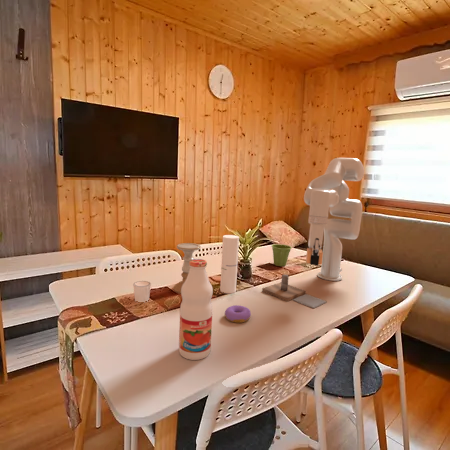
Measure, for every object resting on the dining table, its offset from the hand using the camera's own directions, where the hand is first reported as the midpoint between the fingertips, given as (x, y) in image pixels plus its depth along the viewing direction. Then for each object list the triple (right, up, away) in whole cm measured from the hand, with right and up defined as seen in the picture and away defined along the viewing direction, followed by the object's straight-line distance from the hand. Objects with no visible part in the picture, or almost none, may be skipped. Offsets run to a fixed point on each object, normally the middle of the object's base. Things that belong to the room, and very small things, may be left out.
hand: (313, 262), depth 134 cm
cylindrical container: (-36, -14, +11) cm, 40 cm away
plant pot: (-4, -8, +56) cm, 57 cm away
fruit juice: (-46, -22, -39) cm, 64 cm away
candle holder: (-54, -14, +10) cm, 57 cm away
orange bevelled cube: (0, 0, 0) cm, 0 cm away
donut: (-33, -19, -15) cm, 41 cm away
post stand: (-10, -15, +12) cm, 22 cm away
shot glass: (-71, -15, -4) cm, 73 cm away
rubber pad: (-1, -17, +3) cm, 18 cm away
